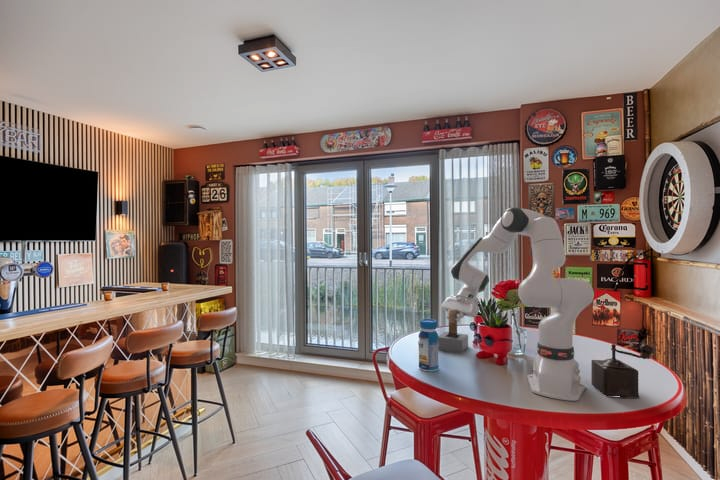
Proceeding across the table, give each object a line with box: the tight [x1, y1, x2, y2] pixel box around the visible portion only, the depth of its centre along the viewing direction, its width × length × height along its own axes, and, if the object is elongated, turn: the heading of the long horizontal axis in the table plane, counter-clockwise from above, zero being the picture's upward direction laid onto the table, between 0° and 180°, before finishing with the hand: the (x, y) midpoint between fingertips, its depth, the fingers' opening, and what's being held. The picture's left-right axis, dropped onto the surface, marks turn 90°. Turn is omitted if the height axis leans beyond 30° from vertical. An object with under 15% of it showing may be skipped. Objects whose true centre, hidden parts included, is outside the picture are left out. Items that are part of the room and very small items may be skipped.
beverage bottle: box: [417, 318, 440, 373], centre depth 147 cm, size 8×8×20 cm
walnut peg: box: [448, 309, 458, 335], centre depth 175 cm, size 4×4×12 cm
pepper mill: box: [590, 343, 655, 398], centre depth 123 cm, size 16×11×18 cm
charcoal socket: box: [438, 331, 469, 354], centre depth 175 cm, size 12×12×6 cm
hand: (451, 319), depth 175 cm, fingers closed on walnut peg, 4 cm apart
